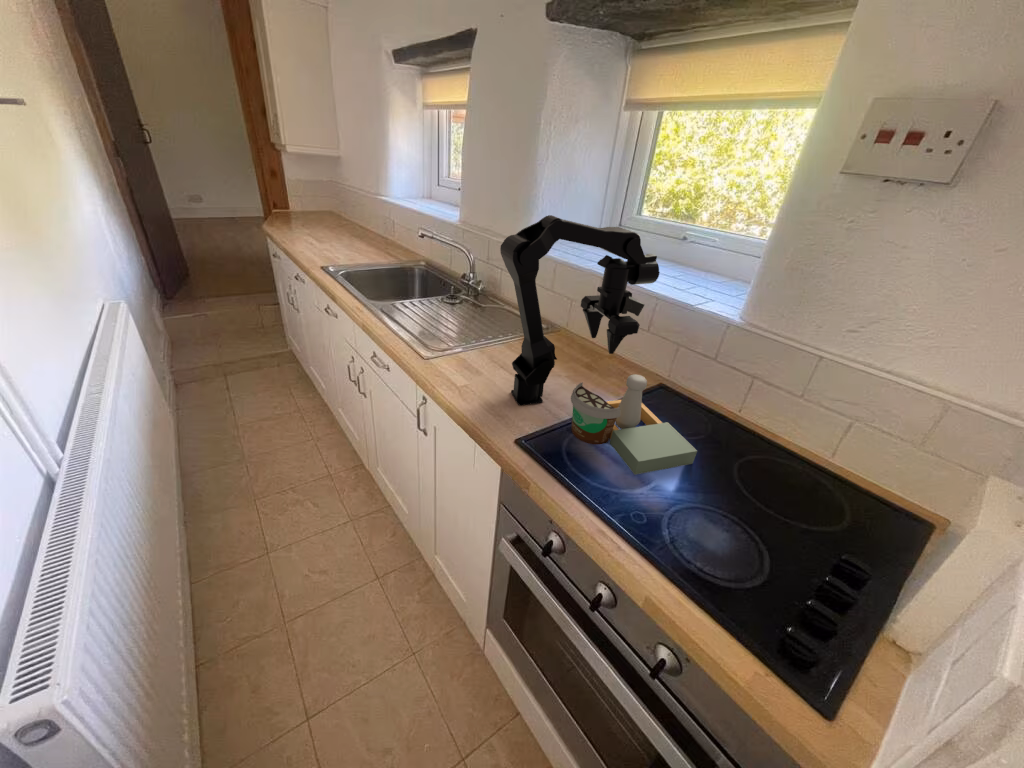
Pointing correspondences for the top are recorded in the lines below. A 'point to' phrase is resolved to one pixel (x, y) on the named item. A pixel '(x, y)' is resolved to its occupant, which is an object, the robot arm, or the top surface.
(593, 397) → the food container
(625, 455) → the orange and green frame
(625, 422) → the salt shaker
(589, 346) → the top surface
